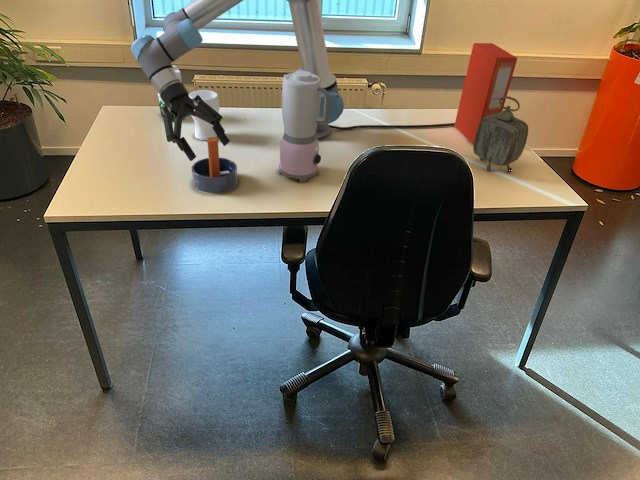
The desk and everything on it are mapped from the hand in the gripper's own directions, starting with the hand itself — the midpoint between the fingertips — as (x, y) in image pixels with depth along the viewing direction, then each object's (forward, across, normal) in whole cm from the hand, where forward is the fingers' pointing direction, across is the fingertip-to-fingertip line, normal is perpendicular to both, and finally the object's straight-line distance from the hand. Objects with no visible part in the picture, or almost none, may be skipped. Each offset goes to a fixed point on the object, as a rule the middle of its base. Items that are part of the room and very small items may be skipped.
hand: (210, 151), depth 153 cm
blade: (+8, 0, -6) cm, 10 cm away
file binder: (+41, -91, +26) cm, 103 cm away
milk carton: (-25, -26, -41) cm, 54 cm away
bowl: (+8, 0, -7) cm, 11 cm away
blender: (+20, -22, +5) cm, 30 cm away
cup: (-10, -22, -26) cm, 35 cm away
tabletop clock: (+52, -69, +37) cm, 94 cm away
